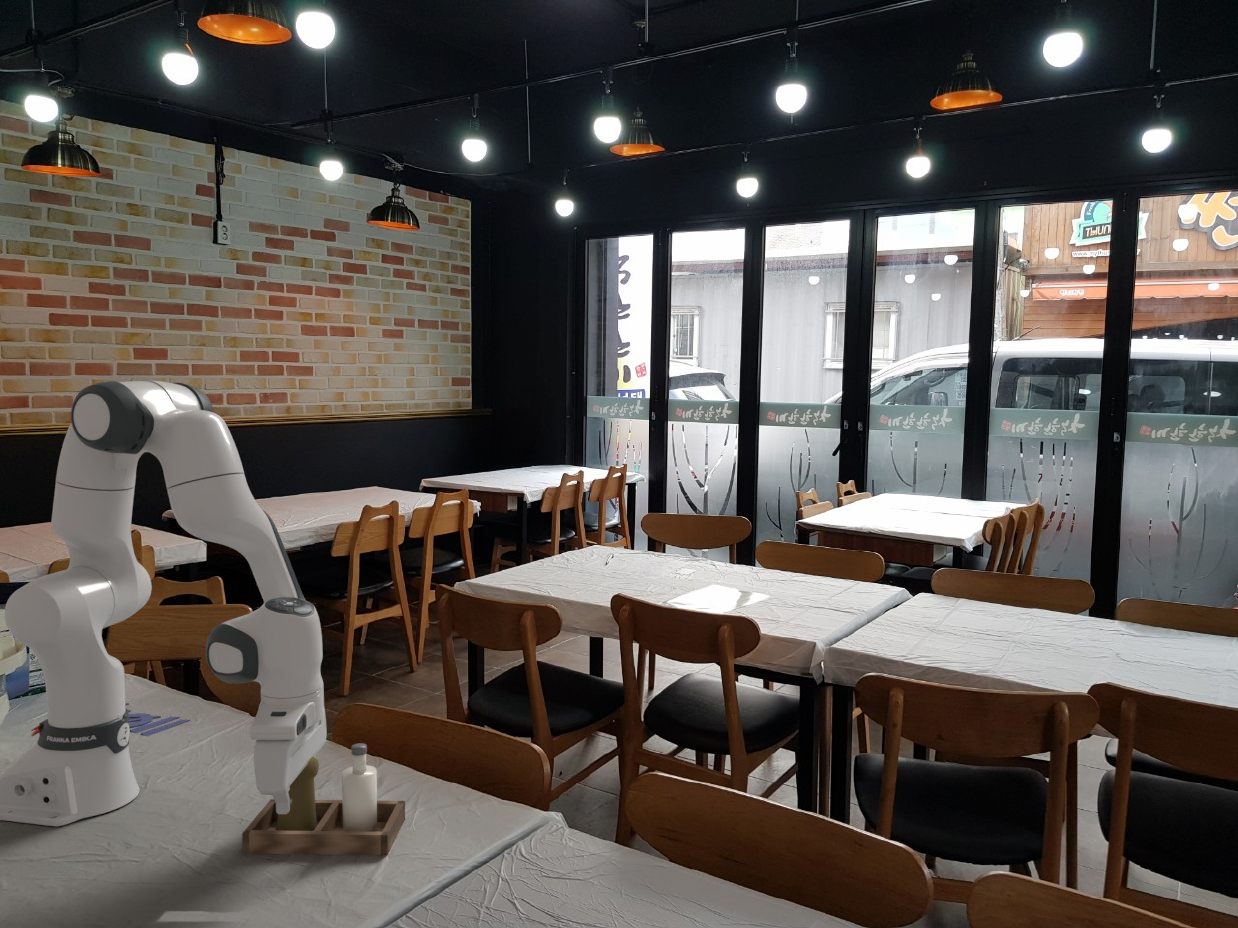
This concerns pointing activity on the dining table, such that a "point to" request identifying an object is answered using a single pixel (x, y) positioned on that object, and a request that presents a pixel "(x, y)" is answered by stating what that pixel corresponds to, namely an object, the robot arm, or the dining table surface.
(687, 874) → the dining table surface
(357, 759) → the cruet bottle
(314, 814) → the olive green pepper mill
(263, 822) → the condiment caddy
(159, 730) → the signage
